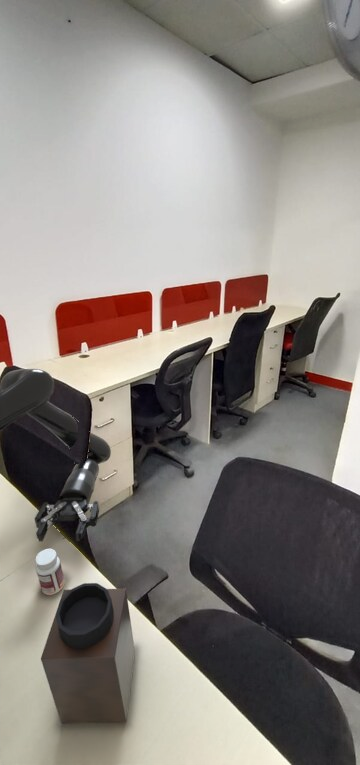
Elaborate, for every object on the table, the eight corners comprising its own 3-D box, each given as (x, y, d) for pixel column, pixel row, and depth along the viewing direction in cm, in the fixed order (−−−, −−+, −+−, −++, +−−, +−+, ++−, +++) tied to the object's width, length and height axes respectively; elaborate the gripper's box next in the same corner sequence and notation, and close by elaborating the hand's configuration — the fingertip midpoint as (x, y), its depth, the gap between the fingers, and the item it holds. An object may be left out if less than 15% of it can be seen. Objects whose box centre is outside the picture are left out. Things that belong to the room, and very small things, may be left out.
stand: (60, 723, 54) (40, 658, 48) (78, 651, 63) (63, 589, 57) (126, 722, 54) (114, 657, 47) (135, 650, 63) (125, 588, 57)
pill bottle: (58, 571, 78) (51, 542, 75) (69, 584, 75) (62, 556, 72) (37, 585, 75) (29, 556, 72) (47, 600, 72) (39, 571, 69)
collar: (51, 649, 49) (47, 636, 48) (68, 595, 56) (65, 582, 55) (108, 648, 48) (105, 635, 47) (117, 594, 56) (115, 581, 55)
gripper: (49, 478, 93) (23, 526, 78) (103, 477, 93) (88, 524, 78) (54, 501, 96) (30, 551, 81) (106, 500, 96) (92, 550, 81)
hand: (58, 538), depth 79 cm, fingers open, 8 cm apart
